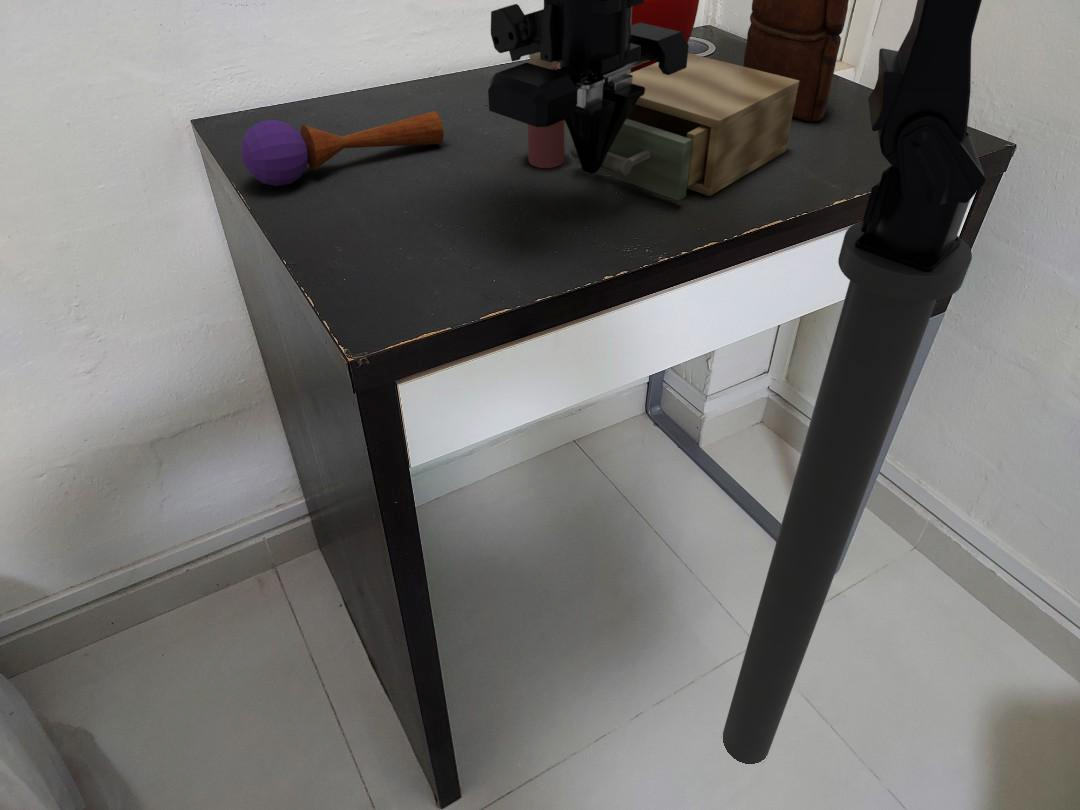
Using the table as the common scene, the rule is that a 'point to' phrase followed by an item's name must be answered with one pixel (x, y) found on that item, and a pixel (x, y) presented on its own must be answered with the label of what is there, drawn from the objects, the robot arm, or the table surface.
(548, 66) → the doll
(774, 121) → the cabinet
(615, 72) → the robot arm
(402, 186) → the table surface
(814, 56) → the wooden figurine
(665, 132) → the drawer
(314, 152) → the kendama
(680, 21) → the ceramic cup
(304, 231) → the table surface
